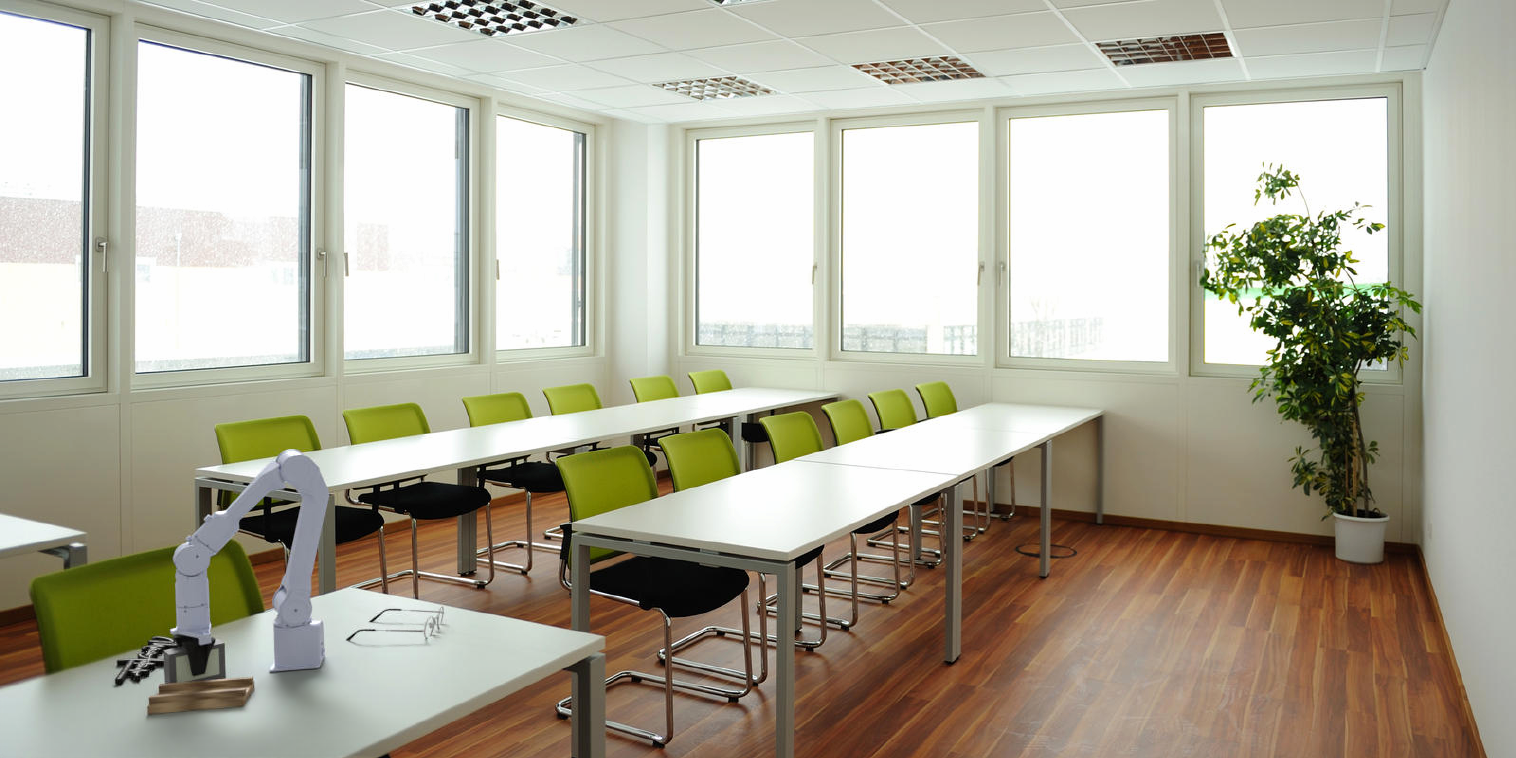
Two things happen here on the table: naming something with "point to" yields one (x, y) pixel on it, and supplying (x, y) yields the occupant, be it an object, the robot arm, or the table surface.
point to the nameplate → (144, 660)
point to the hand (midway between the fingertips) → (195, 671)
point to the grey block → (180, 666)
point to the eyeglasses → (407, 630)
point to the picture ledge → (201, 695)
